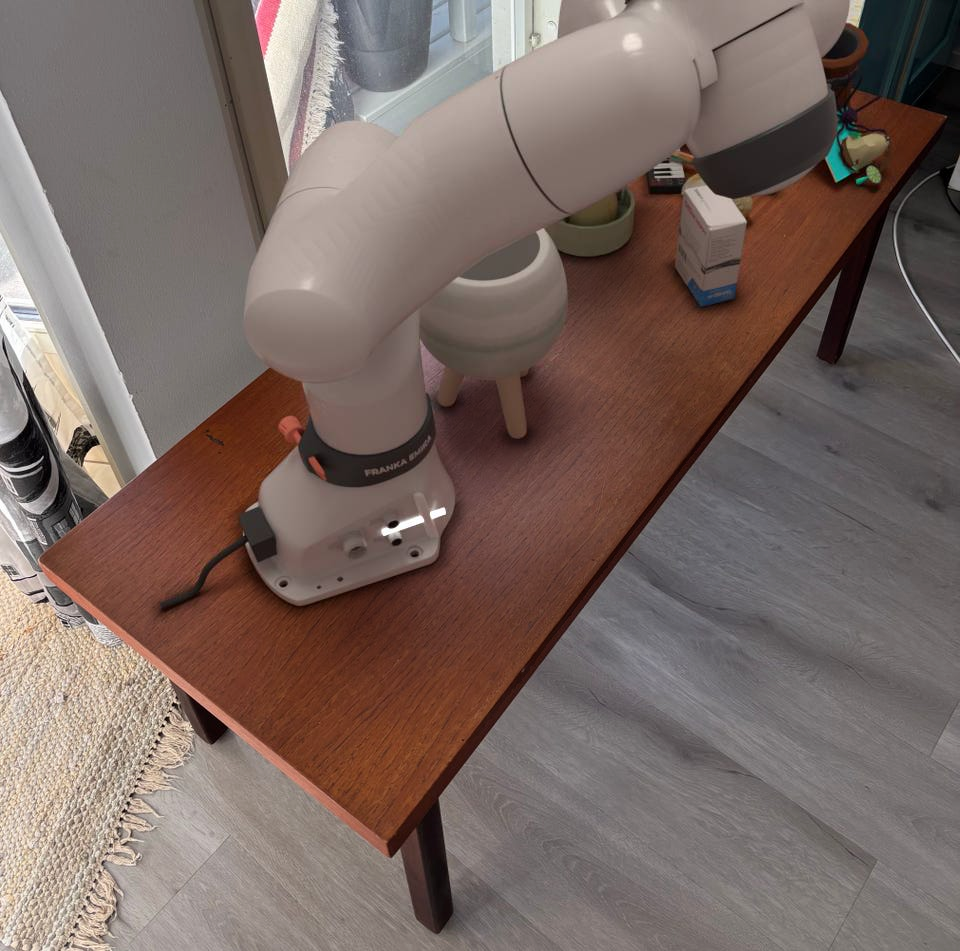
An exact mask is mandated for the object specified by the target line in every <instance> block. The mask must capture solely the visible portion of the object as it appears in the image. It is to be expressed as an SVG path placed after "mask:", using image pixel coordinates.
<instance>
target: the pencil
mask: <svg viewBox="0 0 960 951" xmlns="http://www.w3.org/2000/svg"><path fill="white" fill-rule="evenodd" d="M669 157H672V158H675V159H677V160H680V161H682V163H683V162H684V163H686V164H689V165H691V166H693V165H692V163H691V161H692V159H693V157H694V156H693V155H692V154H689V153H686V152H684V151H681V150H680V151H678V150H677V151H676V152H674V153H673V154H672V155H670V156H669ZM773 194H774V193H771V194H770V195H773Z"/></svg>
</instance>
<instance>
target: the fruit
mask: <svg viewBox="0 0 960 951" xmlns="http://www.w3.org/2000/svg"><path fill="white" fill-rule="evenodd" d="M616 212H617V196H616V193H613V194H611V195H609V196H608V197H606V198H604V199H602V200H600V201H599V202H597V203H595V204H593V205H591V206H589V207H587V208H585V209H583V210H581V211H579V212H577V213H574V214H572V215H570V216H569V222H568V224H573V225H577V226H599V225H604V224H608V223H611V222H613V220H614V218H615V216H616Z"/></svg>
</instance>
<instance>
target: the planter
mask: <svg viewBox="0 0 960 951" xmlns="http://www.w3.org/2000/svg"><path fill="white" fill-rule="evenodd" d="M568 295H569V294H568V284H567V276H566V272H565V268H564V264H563V261H562V259H561V255H560V253H559V250H558V249H557V248H556V246H555V244H554V243H553V241H552V239H551V237H550V236H549V234H548V233H547V232H546V230H545V229H544V228H543V229H541V230H539V231H537V232H535V233H532V234H530V235H528V236H526V237H524V238H522V239H520V240H518V241H516V242H514V243H512V244H510V245H508V246H506V247H504V248H502V249H500V250H498V251H496V252H494V253H492V254H491V255H489V256H487V257H486V258H484V259H482V260H481V261H479V262H478V263H476V264H475V265H474V266H472V267H471V268H469V269H468V270H467V271H465V272H464V273H463V274H461V275H460V276H459V277H457V278H456V279H455V280H454V281H452V282H451V283H450V284H449V285H447V286H446V287H445V288H444V289H442V290H441V291H440V292H439V293H437V294H436V295H435V296H434V297H432V298H431V299H430V300H429V301H427V302H426V303H425V304H424V305H423V306H421V307H420V342H421V344H422V345H423V346H424V348H425V349H426V350H427V351H428V352H429V354H430V355H431V356H432V357H433V358H434V359H436V360H437V361H438V362H439V363H440V364H442V366H444V369H443V373H442V377H441V381H440V383H439V388H438V393H437V402H438V404H439V405H440V406H442V407H450V406H453V405H454V404H455V402H456V400H457V398H458V394H459V392H460V390H461V387H462V384H463V381H464V378H465V376H466V377H469V378H472V379H475V380H481V381H496V385H497V389H498V390H497V391H498V394H499V399H500V404H501V408H502V412H503V417H504V421H505V425H506V429H507V433H508V435H509V436H510V437H511V438H513V439H521V438H524V437H525V436H526V434H527V431H528V429H527V420H526V419H527V418H526V412H525V405H524V397H523V391H522V382H521V378H522V377H526V376H527V375H528V373H529V371H530V368H532V367H533V366H535V365H537V363H538V362H540V361H541V360H542V359H543V358H545V356H546V355H548V353H549V352H550V351H551V350H552V349H553V348H554V346H555V345H556V343H557V341H558V340H559V338H560V336H561V333H562V331H563V328H564V325H565V323H566V319H567V318H566V317H567V313H568V302H569V301H568V300H569V298H568V297H569V296H568Z"/></svg>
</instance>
